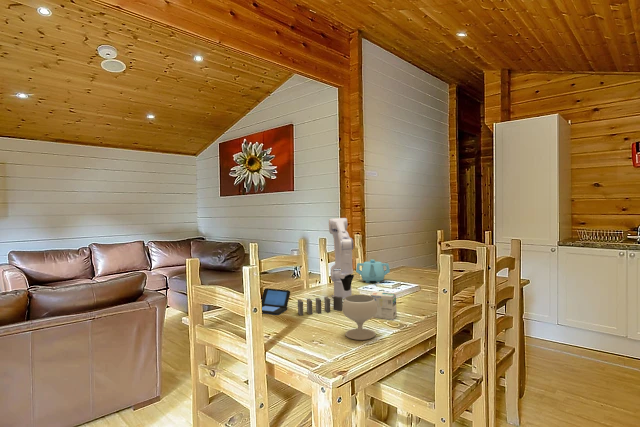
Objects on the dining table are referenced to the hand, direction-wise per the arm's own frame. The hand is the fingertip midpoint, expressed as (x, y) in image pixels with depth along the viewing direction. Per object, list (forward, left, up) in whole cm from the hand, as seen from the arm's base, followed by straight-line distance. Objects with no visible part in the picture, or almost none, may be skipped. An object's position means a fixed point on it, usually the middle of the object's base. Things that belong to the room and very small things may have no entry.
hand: (347, 290), depth 187 cm
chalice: (+8, +35, -10) cm, 37 cm away
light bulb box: (-11, +17, -10) cm, 23 cm away
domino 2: (+20, 0, -9) cm, 22 cm away
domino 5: (+5, 0, -9) cm, 11 cm away
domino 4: (+11, 0, -9) cm, 14 cm away
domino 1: (+24, 0, -9) cm, 26 cm away
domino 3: (+15, 0, -9) cm, 18 cm away
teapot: (-35, -49, -10) cm, 61 cm away
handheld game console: (+36, -12, -10) cm, 40 cm away
